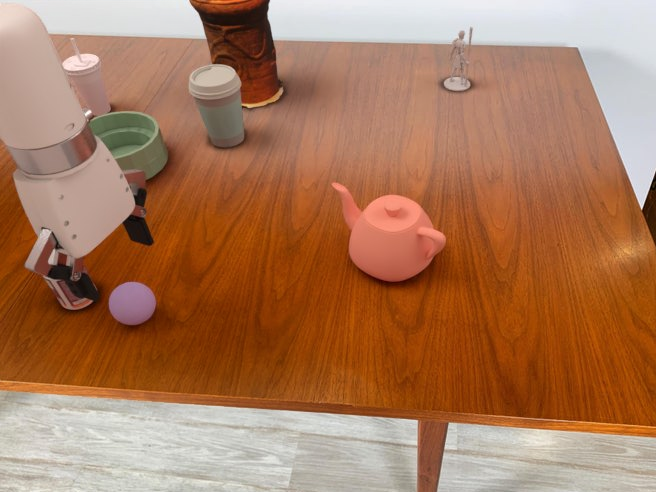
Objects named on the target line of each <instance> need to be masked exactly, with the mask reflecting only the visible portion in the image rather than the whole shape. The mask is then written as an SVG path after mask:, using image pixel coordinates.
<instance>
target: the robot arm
mask: <svg viewBox="0 0 656 492" xmlns="http://www.w3.org/2000/svg"><path fill="white" fill-rule="evenodd" d="M62 63H63V62H62V60H61V58H60V56H59V54H58V51H57V49H56V47H55V45H54V43H53V40H52V37H51V36H50V33H49V31H48V29H47V27H46V25H45V24H44V22H43V20H42V18H41V17H40V16H39V15H38V14H37V12H35V11H34V10H32V9H31V8H29V7H27V6H25V5H23V4H19V3H13V2H12V3H11V2H0V139H1V142H3V144H4V146H5V147H6V149H7V151H8V153H9V155H10V156H11V158H12V160H13V162H14V163H15V165H16V167H17V168H16V169H15V170H14V172H12V178H13V182H14V185H15V189H16V192H17V195H18V198H19V201H20V203H21V206H22V209H23V210H24V213H25V216H26V217H27V219H28V221H29V223H30V225H31V227H32V229H33V231H34V232H35V234H36V236H37V239H36V241H35V243H34V245H33V246H32V249H31V251H30V253H29V255H28V257H27V259H26V261H25V263H24V268H25V269H26V270H28V271H30V272H32V273H35V274H38V275H40V276H42V277H43V276H45V277H48V278H51V279H54V280H64V281H65V283H66V284H67V286H68V288H69V289H70V291H71V292H72V294H73V295H74V296H76V297H78V298H81V299H83V298H87V299H90V300H93V302H98V301H99V300H100V299H101V295H100V293H99V290H98V289H96V288H97V287H96V285H95V283H94V281H93V280H92V281H93V282H92V281H91V279H92V278H91V276H90V275H89V276H90V277H89V276H88V274H89V273H88V274H86V273H83V272H82V267H83V265H84V261H85V256H87V255H88V254H90V253H91V252H93V250H95V248H96V247H98V246H99V245H100V244H101V243H103V241H104V240H106V238H107V237H109V236H110V235H111V234H112V233H113V232H114V231H115V230H116V229H117V228H119V226H121V224H122V225H123V227H124V229H125V231H126V234H127V235H128V238H129V240H130V241H132V242H134V243H138V244H140V245H144V246H148V247H151V246H153V244H154V243H155V241H154V238H153V236H152V233H151V230H150V228H149V225H148V223H147V220H146V219H145V217H146V216H147V213H148V209H147V208H146V207H145V205H146V201H147V196H148V191H147V190H146V185H147V184H146V182H147V180H146V174H145V172H144V171H142V170H138V169H130V170H124V171H121V169H120V167H119V165H118V164H117V162H116V160H115V159H114V157H113V156H112V154H111V153H110V151H109V150H108V148H107V147H106V146H105V144H104V143H103V142H102V141H101V139H100V138H99V137H97V136H96V135H94V134H93V132H92V129H91V127H90V125H89V123H90V121H91V120H92V119H93V118H95V116H94V115H93V113H92V112H91V110H89V109H88V108H87V106H85V107H82V105H81V103H80V100H79V98H78V96H77V93H76V91H75V89H74V87H73V85H72V82H71V79H70V77H69V76H68V74H66V71H65V69H64V67H63V65H62ZM129 183H130V186H129ZM54 249H55V255H54V262H53V265H49V263H48V260H49V258H50V256H51V254H52V252H53V250H54ZM67 255H68V256H72V257H71V261H70V266H68V265H66V262H67ZM90 278H91V279H90ZM93 283H94V284H93ZM94 285H95V286H94ZM95 287H96V288H95Z"/></svg>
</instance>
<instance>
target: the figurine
mask: <svg viewBox="0 0 656 492" xmlns="http://www.w3.org/2000/svg"><path fill="white" fill-rule="evenodd" d="M473 28H474V27H473V26H470V27H469V34H468V46H467V42H466V41H465V40H464V39H465V36H466V32H465V30H462V29H461V30H460V31H459V32H458V38H455V39H453V40H452V46H451V49H450V53H449V57H448V60H449V61H452V60H453V55H454V53H455V51H456V54H455V55H456V56H455V57H454V60H453V62H452V66H453V68H452V70H451V74H450V77H448V78H447V79H445V80H444V81H443V86H444V88H445V89H447V90H449V91H452V92H464V91H467V90H468V89H470V87H471V82H470V80H468V75H469V66H470V57H471V47H472V38H473ZM467 48H468V49H467ZM466 49H467V56H466V57H467V58H466V57H465V51H466ZM465 65H466V67H465ZM457 69H459V71H460V75H459V76H455V75H456V71H457ZM464 76H465V77H464Z"/></svg>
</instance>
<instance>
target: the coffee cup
mask: <svg viewBox="0 0 656 492" xmlns="http://www.w3.org/2000/svg"><path fill="white" fill-rule="evenodd" d="M188 81H189V82H188V91H189V93H190V95H192V97H193V100H194V102H195V104H196V107H197V109H198V112H199V114H200V117H201V119H202V122H203V125H204V126H205V129H206V132H207V134H208V136H209V139H210V141H211V143H212V144H213V145H214V146H216V147H218V148H231V147H235V146H237V145H240V144H241V143H242V142H243V141H244V139H245V129H244V117H243V115H244V114H243V106H242V104H241V92H240V87H241V81H240V78H239V76H238V75H237V74H236V72H235V70H234V69H233V68H232V67H230V66H227V65H220V64H214V65H213V64H207V65H204V66H201V67H198V68H196V69H195V70H193V71H192V72H191V73H190V75H189V77H188Z"/></svg>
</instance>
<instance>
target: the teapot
mask: <svg viewBox="0 0 656 492" xmlns="http://www.w3.org/2000/svg"><path fill="white" fill-rule="evenodd" d="M331 186H332V188H333V189H334V190H335V191H336V192H337V193H338V195H339V197H340V199H341V203H342V212H343V218H344V222H345V224H346V226H347V228H348V229H349V230H350V237H349V243H348V254H349V257H350V259H351V261H352V262H353V263H354V265H355V266H356V267H357V268H358V269H360V270H361V271H362V272H364V273H365V274H367V275H369V276H371V277H373V278H376V279H378V280H381V281H384V282H391V283H392V282H393V283H394V282H395V283H396V282H402V281H406V280H409V279H411V278H412V277H415V276H416V275H418V274H419V273H421V272H422V271H423V270H425V269H426V268H427V267H428V266H429V265H430V264H431V262H432V261H433V259H434V257H435V256H436V255H438V253H440V252H441V251H442V250H443V249H444V248H445V246H446V242H447V238H446V236H445V235H444V233H443V232H441V231H439V230H437V229H435V228H434V225H433V223H432V221H431V219H430V217H429V216H428V215H427V213H426V211H425V210H424V209H423V208H422V207H421V205H420V204H418V203H417V202H416V201H414V200H413V199H411V198H408V197H406V196H402V195H398V194H387V195H382V196H380V197H378V198H376V199H374V200H373V201H371V202H370V203H369V204H368V205H367V206H366V207H365V208H364V209H363V211H362V210H361V209H360V208H358V206H357V205H356V203H355V201H354V200H355V199H353V196H352V194H351V192H350V191H349V190H348V188H346V186H344V185H343V184H340V183H338V182H332V183H331Z"/></svg>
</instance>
